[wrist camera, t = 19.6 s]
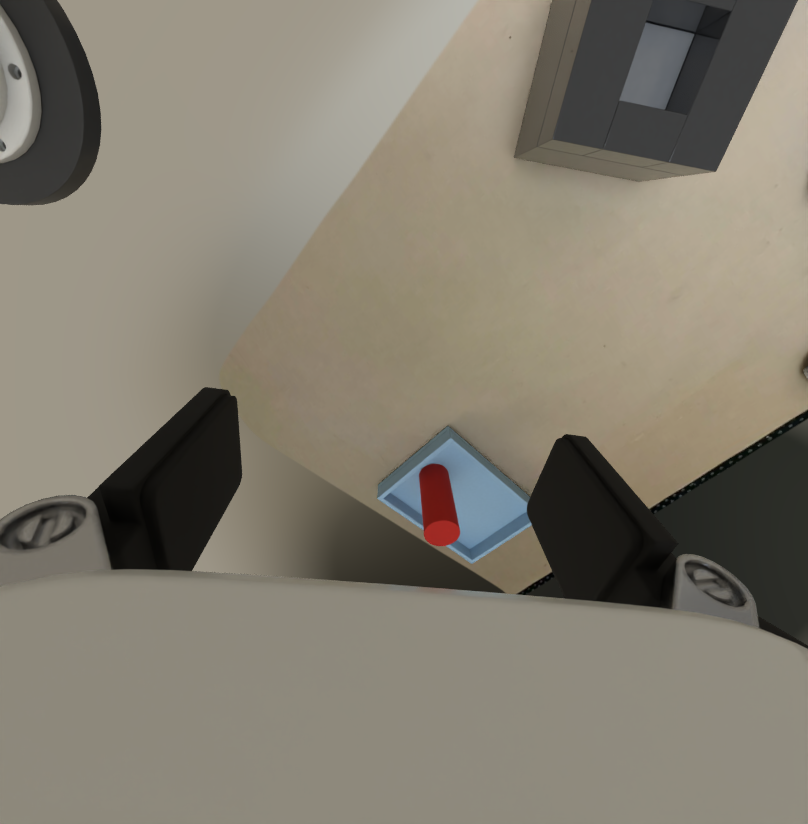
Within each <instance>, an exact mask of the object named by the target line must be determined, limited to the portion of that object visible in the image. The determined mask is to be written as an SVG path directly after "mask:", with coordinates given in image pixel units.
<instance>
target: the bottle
mask: <svg viewBox="0 0 808 824" xmlns="http://www.w3.org/2000/svg"><path fill="white" fill-rule="evenodd" d="M804 375H805V376H806V377H807V378H808V367H806V368H805V369H804Z"/></svg>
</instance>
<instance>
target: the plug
mask: <svg viewBox="0 0 808 824" xmlns="http://www.w3.org/2000/svg"><path fill="white" fill-rule="evenodd" d="M419 482H420V494H421V506H422V517H423V529H424V537H425V539H426V540H427V541H428V542H429V543H430V544H432V545H436V546H446V545H450V544H452V543H454V542H455V541H456V540H457V539H458V538H459V536H460V527H459V523H458V518H457V513H456V508H455V503H454V498H453V493H452V488H451V483H450V478H449V473H448V470H447V469H446V468H445V467H444V466H443V465H440V464H429V465H427V466H425V467H423V468H422V469H421V471H420V473H419Z"/></svg>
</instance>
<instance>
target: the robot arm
mask: <svg viewBox="0 0 808 824" xmlns="http://www.w3.org/2000/svg"><path fill="white" fill-rule="evenodd" d="M41 113H42V109H41V93H40V89H39V84H38V80H37V76H36V72H35V69H34V66H33V64H32V61H31V58H30V56H29V53H28V50H27V48H26V47H25V45H24V43H23V41H22V39H21V37H20V35H19V33H18V31H17V29H16V27H15V26H14V24H13V23H12V21H11V20H10V18H9V17H8V15H7V14H6V12H5V11H4V9H3V8H2V6H1V5H0V163H6V162H9V161H12V160H15V159H17V158H18V157H20V156H21V155H23V154H24V153H26V152H27V151H28V149H29V148H30V147H31V145H32V144H33V143H34V141H35V139H36V136H37V133H38V131H39V128H40V121H41ZM241 478H242V465H241V451H240V437H239V422H238V408H237V399H236V397H235V396H231V395H230V392H229V391H228V390H223V389H216V388H208V387H205V388H203V389H202V390H201V391H200V392H199V393H198V394H197V395H196V396H194V397H193V398H192V400H190V401H189V402H188V403H187V404H186V405H185V406H184V407H183V408H182V409H181V410H180V411H178V412H177V413H176V414H175V415H174V416H173V417H172V418H171V419H170V420H169V421H168V422H167V423H166V424H165V425H164V426H163V427H161V428H160V429H159V430H158V431H157V432H156V433H155V434H154V435H153V436H152V437H151V438H150V439H149V440H148V441H146V442H145V443H144V444H143V445H142V446H141V447H140V448H139V449H138V450H137V451H136V452H135V453H134V454H133V455H132V456H131V457H130V458H128V459H127V460H126V461H125V462H124V463H123V464H122V465H121V466H120V467H119V468H118V469H117V470H116V471H114V472H113V473H112V474H111V475H110V476H109V477H108V478H107V479H106V480H105V481H104V482H103V483H102V484H101V485H100V486H99V487H98V488H97V489H96V490H95V491H94V492H93V493H92V494H91V495H90V496H89V497H87V498H86V497H82V496H76V495H66V496H65V495H64V496H55V497H50V498H45V499H41V500H38V501H35V502H32V503H29V504H26V505H24V506H23V507H20V508H18V509H16V510H15V511H13V512H10V513H9V514H7V515H6V516H5V517H3V518H2V519H1V520H0V824H808V646H807V645H806V644H804V643H802V642H801V641H799V640H797V639H796V638H794V637H792V636H791V635H789V634H787V633H786V632H784V631H782V630H781V629H779V628H777V627H776V626H774V625H772V624H771V623H769V622H767V621H766V620H764V619H762V618H760V617H759V616H757V610H756V604H755V602H754V599H753V596H752V595H751V593H750V592H749V591H748V590H747V588H746V587H745V586H744V585H743V584H742V583H741V582H740V581H739V580H738V579H737V578H736V577H735V576H734V575H732V574H731V573H730V572H728V571H727V570H726V569H724V568H723V567H721V566H719V565H718V564H716V563H714V562H712V561H710V560H708V559H705V558H703V557H700V556H696V555H693V554H684V555H681V556H679V557H678V558H677V559H676V558H675V556H674V555H673V554H672V553H671V552H672V551H673V550H674V549H675V547H676V546H677V545H678V543H677V541H676V540H675V539H674V538H673V537H672V536H671V534H670V533H669V532H668V531H667V530H666V529H665V527H664V526H663V525H662V524H661V523H660V522H659V520H658V519H657V518H656V517H655V516H654V515H653V514H652V512H651V511H650V510H649V509H648V508H647V507H646V505H645V504H644V503H643V502H642V501H641V500H640V498H639V497H638V496H637V495H636V494H635V493H634V492H633V490H632V489H631V488H630V487H629V486H628V485H627V483H626V482H625V481H624V480H623V479H622V478H621V476H620V475H619V474H618V473H617V472H616V471H615V470H614V468H613V467H612V466H611V465H610V464H609V463H608V461H607V460H606V459H605V458H604V457H603V456H602V454H601V453H600V452H599V451H598V450H597V449H596V448H595V446H594V445H593V444H592V443H591V442H590V441H589V439H588V438H586V437H583V436H576V435H568V434H566V435H564V436H563V437H562V438H559V439H557V440H556V442H555V444H554V446H553V448H552V450H551V452H550V455H549V457H548V459H547V461H546V464H545V466H544V468H543V470H542V472H541V475H540V477H539V479H538V481H537V484H536V486H535V488H534V490H533V492H532V495H531V497H530V499H529V501H528V504H527V515H528V517H529V520H530V522H531V524H532V526H533V529H534V531H535V533H536V535H537V538H538V540H539V542H540V544H541V547H542V549H543V551H544V553H545V556H546V558H547V560H548V562H549V564H550V567H551V569H552V571H553V573H554V576H555V578H556V580H557V582H558V585H559V587H560V589H561V591H562V593H563V596H564V598H565V599H562V598H550V597H539V596H527V595H515V594H503V593H491V592H490V593H489V592H477V591H465V590H453V589H440V588H426V587H413V586H401V585H388V584H375V583H361V582H348V581H334V580H320V579H306V578H292V577H278V576H265V575H251V574H250V575H249V574H233V573H215V572H214V573H213V572H197V571H192V570H193V568H194V566H195V564H196V562H197V561H198V559H199V557H200V555H201V553H202V552H203V550H204V548H205V546H206V544H207V543H208V541H209V539H210V537H211V535H212V534H213V532H214V530H215V528H216V527H217V525H218V523H219V521H220V519H221V518H222V516H223V514H224V512H225V510H226V508H227V507H228V505H229V503H230V501H231V500H232V498H233V496H234V494H235V492H236V490H237V489H238V487H239V485H240V482H241Z"/></svg>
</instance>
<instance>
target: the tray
mask: <svg viewBox="0 0 808 824" xmlns="http://www.w3.org/2000/svg"><path fill="white" fill-rule="evenodd" d="M429 464H440V465H443V466H444V467H445V468H446V469H447V470H448V473H449V478H450V483H451V488H452V493H453V498H454V503H455V508H456V513H457V518H458V523H459V527H460V536H459V538H458V539H457V540H456V541H455V542H454V543H452V544H450V545H446V546H447V547H448V548H450V549H451V550H453V551H454V552H456V553H457V554H458V555H460V556H461V557H463V558H464V559H466V560H467V561H469V562H470V563H474V562H475V561H477V560H478V559H480V558H482V557H483V556H485V555H486V554H488V553H489V552H491V551H492V550H494V549H495V548H497V547H499V546H500V545H502V544H503V543H505V542H506V541H508V540H509V539H511V538H512V537H514V536H516V535H517V534H519V533H520V532H522V531H523V530H525V529H526V528H528V527H529V526H531V525H532V524H531V522H530V520H529V517H528V515H527V504H528V501H529V499H530V497H529V496H528V495H527V494H526V493H525V492H524V491H523V490H521V489H520V488H519V487H518V486H517V485H516V484H514V483H513V482H512V481H511V480H510V479H509V478H508V477H506V476H505V475H504V474H503V473H502V472H501V471H499V470H498V469H497V468H496V467H495V466H494V465H493V464H491V463H490V462H489V461H488V460H487V459H486V458H484V457H483V456H482V455H481V454H480V453H479V452H478V451H476V450H475V449H474V448H473V447H472V446H471V445H469V444H468V443H467V442H466V441H465V440H464V439H463V438H461V437H460V436H459V435H458V434H457V433H456V432H454V431H453V430H452V429H451V428H450V427H449V426H447V427H446V428H445V429H443V430H442V431H441V432H440V433H439V434H438V435H436V436H435V437H434V438H433V439H432V440H430V441H429V442H428V443H427V444H426V445H425V446H423V447H422V448H421V449H420V450H419V451H417V452H416V453H415V454H414V455H413V456H412V457H410V458H409V459H408V460H407V461H406V462H404V463H403V464H402V465H401V466H400V467H399V468H397V469H396V470H395V471H394V472H393V473H391V474H390V475H389V476H388V477H387V478H386V479H384V480H383V481H382V482H381V483H380V484H378V496H377V499H379V500H380V501H382V502H383V503H385V504H386V505H387V506H389V507H390V508H392V509H393V510H395V511H396V512H398V513H399V514H400V515H402V516H403V517H405V518H406V519H408V520H409V521H411V522H412V523H414V524H415V525H416V526H418V527H419V528H421V529H422V530H424V529H423V517H422V506H421V494H420V482H419V473H420V471H421V469H422V468H423V467H425V466H427V465H429Z"/></svg>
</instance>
